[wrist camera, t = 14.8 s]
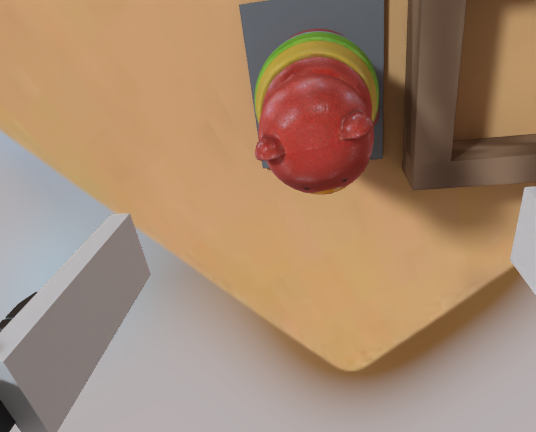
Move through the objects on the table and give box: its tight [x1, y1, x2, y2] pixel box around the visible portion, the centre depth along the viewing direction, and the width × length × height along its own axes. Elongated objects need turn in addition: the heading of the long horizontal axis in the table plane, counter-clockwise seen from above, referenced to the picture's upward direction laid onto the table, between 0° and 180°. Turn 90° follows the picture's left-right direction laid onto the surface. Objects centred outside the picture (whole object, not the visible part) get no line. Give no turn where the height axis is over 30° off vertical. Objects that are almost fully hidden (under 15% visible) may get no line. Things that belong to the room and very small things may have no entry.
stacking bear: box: [254, 29, 379, 194], centre depth 28 cm, size 11×10×18 cm
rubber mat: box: [239, 0, 384, 168], centre depth 36 cm, size 12×15×1 cm
